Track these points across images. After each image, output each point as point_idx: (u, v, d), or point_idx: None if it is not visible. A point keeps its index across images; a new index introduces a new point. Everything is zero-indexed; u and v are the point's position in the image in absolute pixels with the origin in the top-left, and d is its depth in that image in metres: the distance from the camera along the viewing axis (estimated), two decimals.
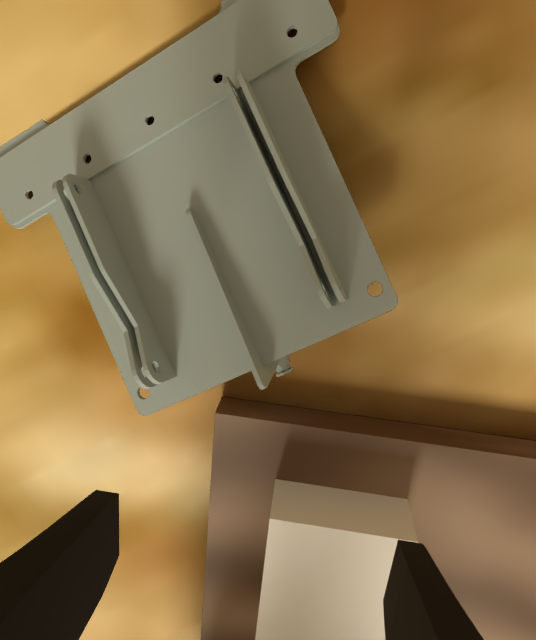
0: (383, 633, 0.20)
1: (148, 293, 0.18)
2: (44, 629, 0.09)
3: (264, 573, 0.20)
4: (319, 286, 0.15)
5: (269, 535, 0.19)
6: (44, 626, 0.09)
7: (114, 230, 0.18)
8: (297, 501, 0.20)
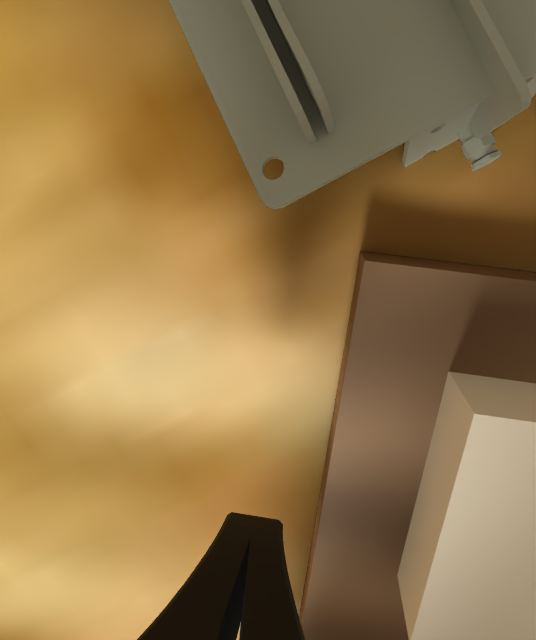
0: None
1: None
2: None
3: (449, 510, 0.12)
4: None
5: (469, 444, 0.12)
6: None
7: None
8: (501, 396, 0.13)
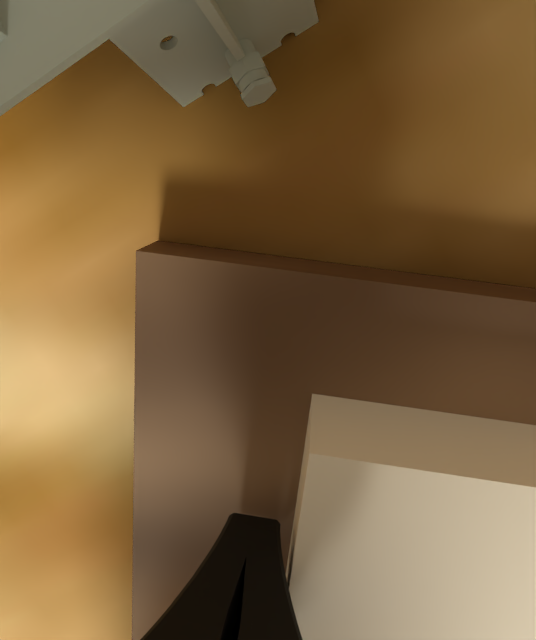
0: None
1: None
2: None
3: (294, 568, 0.10)
4: None
5: (307, 490, 0.09)
6: None
7: None
8: (360, 427, 0.10)
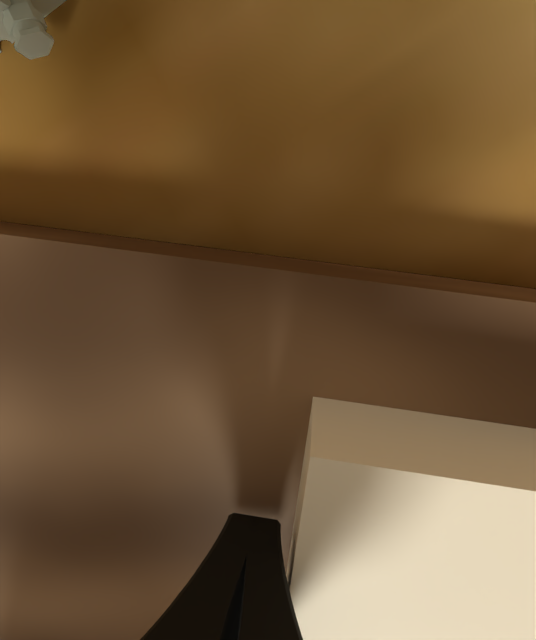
0: None
1: None
2: None
3: (295, 571, 0.10)
4: None
5: (308, 493, 0.09)
6: None
7: None
8: (361, 429, 0.10)
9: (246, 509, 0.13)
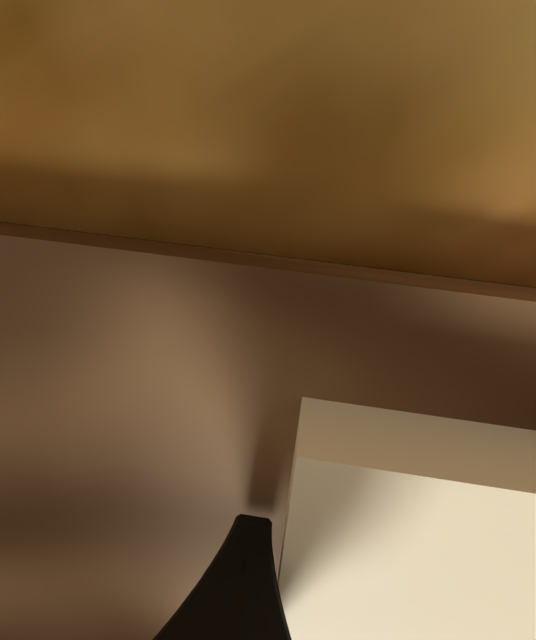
0: None
1: None
2: None
3: (283, 571, 0.10)
4: None
5: (295, 493, 0.09)
6: None
7: None
8: (348, 430, 0.10)
9: (157, 495, 0.13)
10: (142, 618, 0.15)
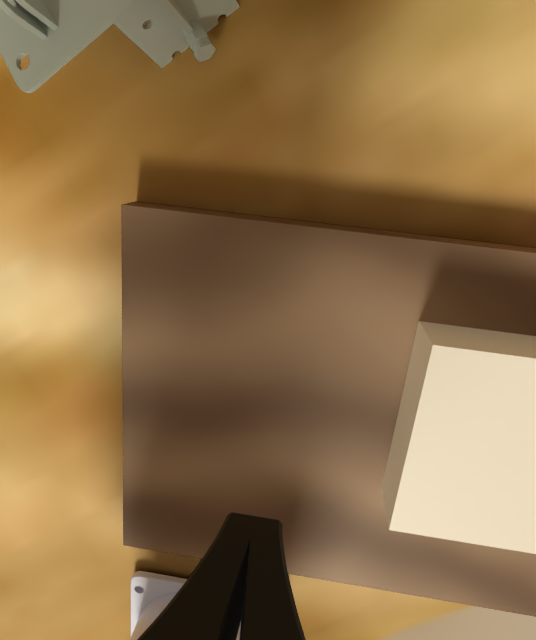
0: None
1: None
2: None
3: (416, 420, 0.17)
4: None
5: (429, 368, 0.16)
6: None
7: None
8: (455, 335, 0.17)
9: (313, 391, 0.20)
10: (291, 484, 0.21)
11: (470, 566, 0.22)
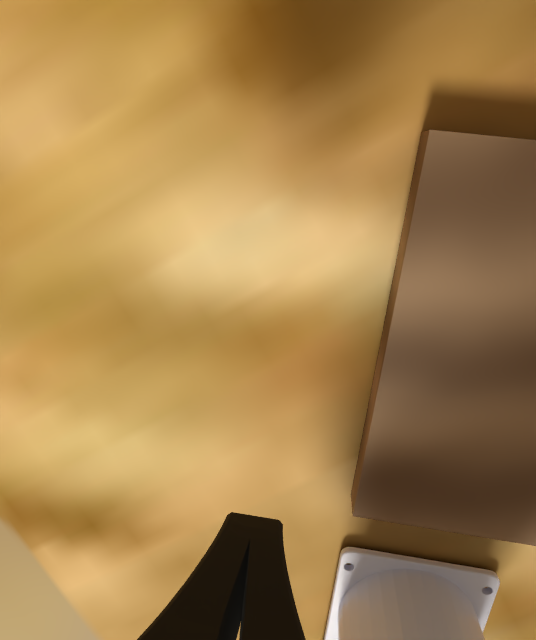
0: None
1: None
2: None
3: None
4: None
5: None
6: None
7: None
8: None
9: None
10: None
11: None
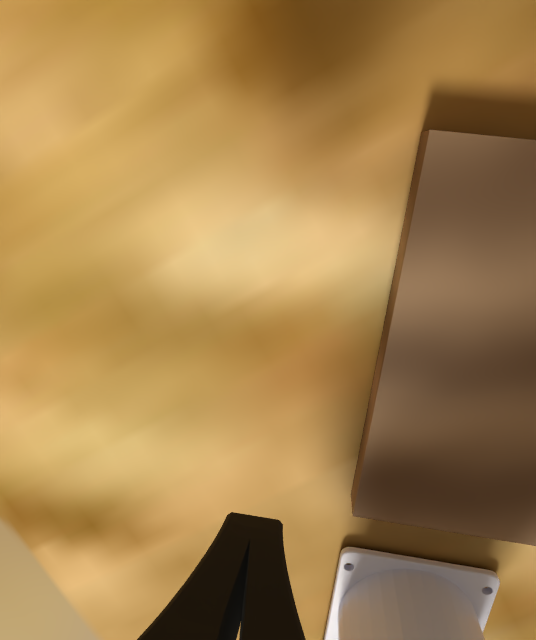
0: None
1: None
2: None
3: None
4: None
5: None
6: None
7: None
8: None
9: None
10: None
11: None
